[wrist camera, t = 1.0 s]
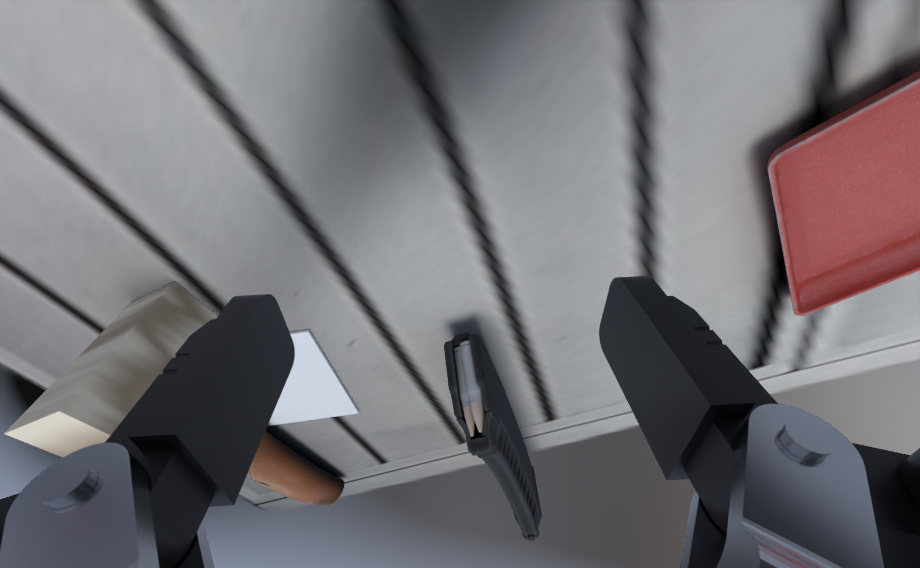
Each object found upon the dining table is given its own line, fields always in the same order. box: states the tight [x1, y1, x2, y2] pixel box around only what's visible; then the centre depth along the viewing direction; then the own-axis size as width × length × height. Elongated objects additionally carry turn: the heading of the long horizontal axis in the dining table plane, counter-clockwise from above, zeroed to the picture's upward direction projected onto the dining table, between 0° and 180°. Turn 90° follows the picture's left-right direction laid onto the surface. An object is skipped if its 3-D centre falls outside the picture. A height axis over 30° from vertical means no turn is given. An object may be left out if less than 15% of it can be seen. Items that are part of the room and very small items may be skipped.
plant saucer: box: [767, 70, 920, 316], centre depth 26 cm, size 18×18×3 cm
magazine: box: [444, 333, 542, 540], centre depth 40 cm, size 17×3×30 cm
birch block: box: [5, 281, 218, 457], centre depth 28 cm, size 5×5×12 cm
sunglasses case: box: [248, 431, 344, 505], centre depth 47 cm, size 18×7×7 cm
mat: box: [268, 329, 359, 426], centre depth 39 cm, size 14×16×1 cm
